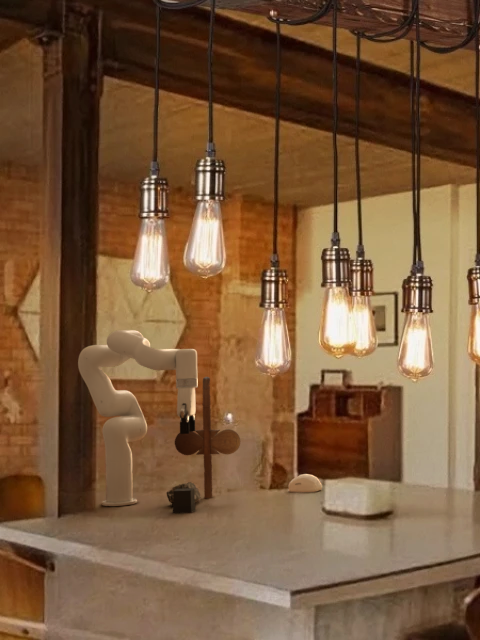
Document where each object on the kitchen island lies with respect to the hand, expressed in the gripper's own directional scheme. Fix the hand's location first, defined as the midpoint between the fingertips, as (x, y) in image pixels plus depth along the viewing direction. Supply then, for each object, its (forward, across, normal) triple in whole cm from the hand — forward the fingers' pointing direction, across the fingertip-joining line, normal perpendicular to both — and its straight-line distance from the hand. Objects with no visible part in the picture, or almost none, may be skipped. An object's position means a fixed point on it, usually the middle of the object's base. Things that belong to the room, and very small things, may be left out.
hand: (187, 432), depth 384 cm
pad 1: (+21, +8, 0) cm, 23 cm away
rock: (+26, -11, -4) cm, 29 cm away
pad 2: (+24, +8, 0) cm, 25 cm away
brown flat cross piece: (+26, -25, +2) cm, 36 cm away
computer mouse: (+26, -36, +37) cm, 58 cm away
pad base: (+26, +8, 0) cm, 27 cm away
